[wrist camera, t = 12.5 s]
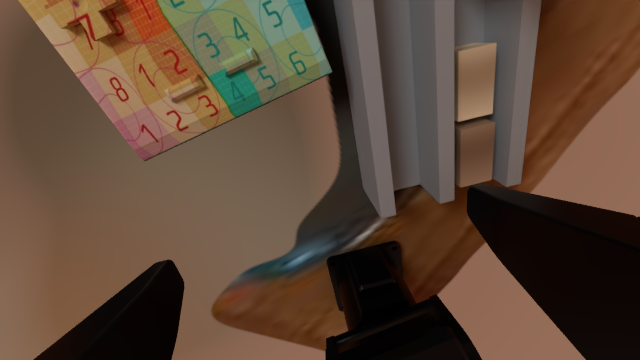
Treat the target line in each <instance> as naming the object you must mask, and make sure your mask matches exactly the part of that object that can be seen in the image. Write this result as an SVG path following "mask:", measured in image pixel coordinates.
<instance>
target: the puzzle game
mask: <svg viewBox="0 0 640 360" xmlns="http://www.w3.org/2000/svg"><path fill="white" fill-rule="evenodd" d="M19 2H20V3H21V4H22V6H23V7H24V8H25V10H26V11H27V12H28V13H29V15H30V16H31V17H32V19H33V20H34V21H35V23H36V24H37V25H38V26H39V28H40V29H41V30H42V32H43V33H44V34H45V35H46V37H47V38H48V39H49V41H50V42H51V43H52V45H53V46H54V47H55V48H56V50H57V51H58V52H59V54H60V55H61V56H62V57H63V59H64V60H65V61H66V63H67V64H68V65H69V67H70V68H71V69H72V71H73V72H74V73H75V74H76V76H77V77H78V78H79V80H80V81H81V82H82V84H83V85H84V86H85V87H86V89H87V90H88V91H89V93H90V94H91V95H92V97H93V98H94V99H95V100H96V102H97V103H98V104H99V106H100V107H101V108H102V109H103V111H104V112H105V113H106V115H107V116H108V117H109V119H110V120H111V121H112V122H113V124H114V125H115V126H116V127H117V129H118V130H119V131H120V133H121V134H122V135H123V137H124V138H125V139H126V141H127V142H128V143H129V144H130V146H131V147H132V148H133V150H134V151H135V152H136V153H137V154H138V155H139V156H140V157H141V158H142V159H143V160H144V161H147V160H149V159H151V158H153V157H155V156H157V155H159V154H161V153H163V152H166V151H168V150H170V149H172V148H174V147H176V146H178V145H180V144H183V143H185V142H187V141H189V140H191V139H193V138H195V137H197V136H199V135H201V134H204V133H206V132H208V131H210V130H212V129H214V128H216V127H218V126H221V125H223V124H225V123H227V122H229V121H231V120H233V119H235V118H238V117H240V116H242V115H244V114H246V113H248V112H250V111H252V110H254V109H257V108H259V107H261V106H263V105H265V104H267V103H269V102H271V101H274V100H276V99H278V98H280V97H282V96H284V95H286V94H288V93H291V92H293V91H295V90H297V89H299V88H301V87H303V86H305V85H307V84H309V83H312V82H314V81H316V80H318V79H320V78H322V77H324V76H327V75H329V74H331V73H333V72H332V70H331V67H330V65H329V62H328V59H327V57H326V54H325V52H324V49H323V46H322V44H321V41H320V39H319V36H318V33H317V31H316V28H315V26H314V23H313V20H312V18H311V15H310V13H309V10H308V7H307V5H306V2H305V0H19Z"/></svg>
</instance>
